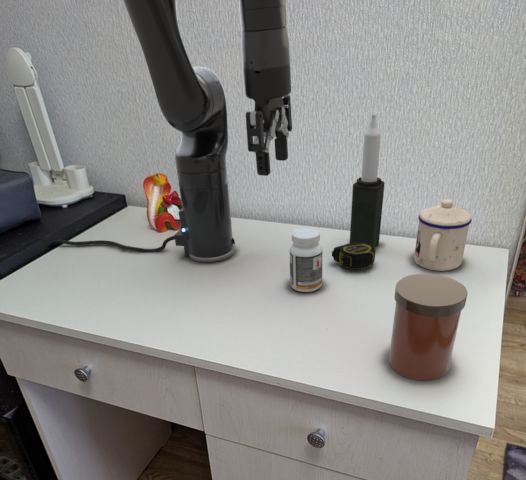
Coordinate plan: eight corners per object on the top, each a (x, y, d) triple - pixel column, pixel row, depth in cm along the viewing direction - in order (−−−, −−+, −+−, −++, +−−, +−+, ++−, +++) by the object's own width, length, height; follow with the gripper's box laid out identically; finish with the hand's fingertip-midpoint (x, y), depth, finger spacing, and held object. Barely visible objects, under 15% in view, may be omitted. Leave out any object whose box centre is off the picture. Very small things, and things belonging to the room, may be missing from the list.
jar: (384, 377, 66) (393, 302, 59) (389, 341, 73) (397, 271, 66) (451, 386, 64) (469, 309, 57) (450, 349, 70) (466, 276, 64)
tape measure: (361, 255, 97) (362, 237, 95) (381, 268, 92) (383, 249, 90) (331, 262, 95) (331, 244, 93) (349, 276, 90) (351, 257, 88)
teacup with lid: (419, 248, 99) (428, 190, 92) (467, 256, 95) (479, 195, 88) (402, 273, 90) (410, 211, 83) (453, 282, 86) (466, 218, 80)
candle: (371, 253, 98) (382, 116, 83) (347, 248, 100) (354, 114, 86) (380, 244, 101) (393, 110, 87) (357, 239, 104) (366, 109, 89)
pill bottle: (328, 283, 88) (330, 231, 82) (309, 296, 85) (309, 242, 79) (302, 275, 91) (302, 224, 86) (283, 287, 88) (282, 234, 82)
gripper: (262, 57, 84) (269, 155, 94) (225, 70, 74) (237, 179, 84) (303, 55, 82) (306, 156, 91) (271, 69, 71) (278, 181, 81)
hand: (273, 167), depth 88 cm, fingers open, 8 cm apart
